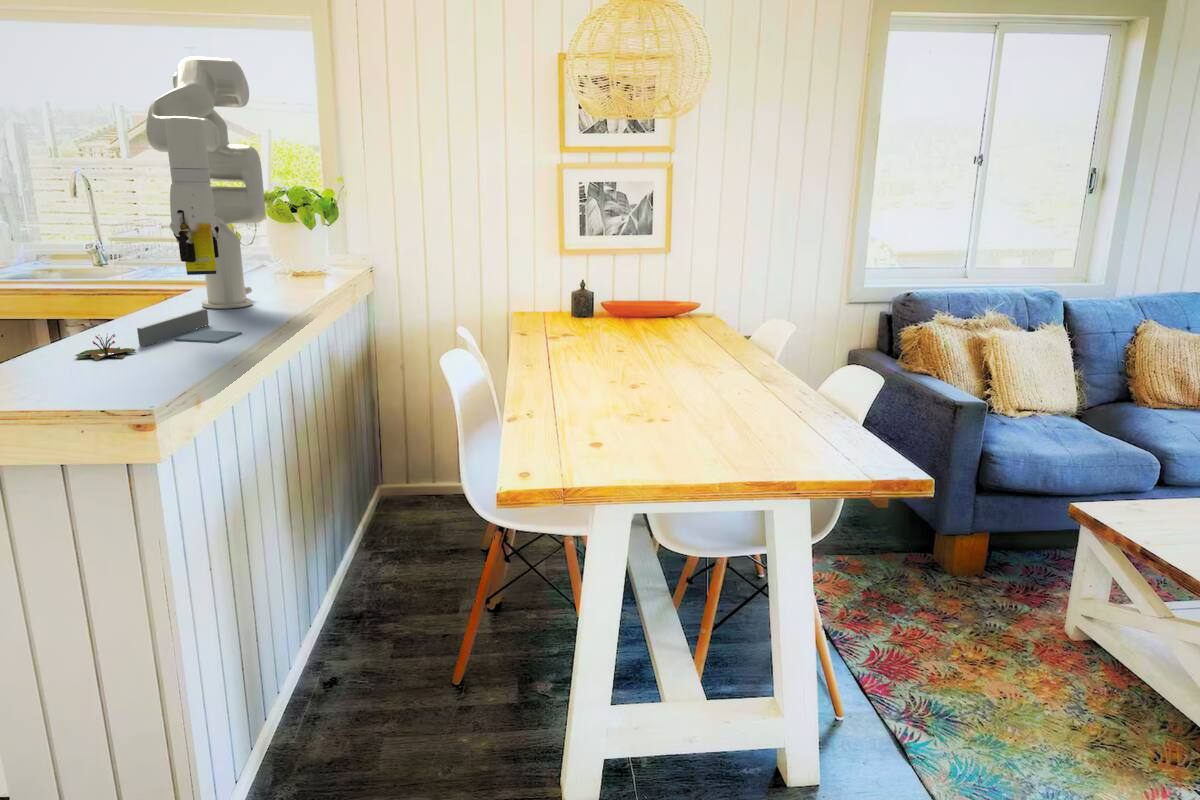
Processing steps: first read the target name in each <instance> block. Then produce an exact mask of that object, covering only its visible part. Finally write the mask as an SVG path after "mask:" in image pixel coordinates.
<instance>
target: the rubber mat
mask: <svg viewBox="0 0 1200 800" xmlns="http://www.w3.org/2000/svg"><path fill="white" fill-rule="evenodd" d="M239 334H240V335H242V334H243V331H229V330H228V331H227V330H210V329H200V330H196V331H194V332H191V333H188V334H185V335H181V336H180V337H176V338H174V341H175V340H180V341H179V342H193V341H200V342H199V343H212V342H216V344H218V343H221V342H223V340H224V341H226V340H229V339H232V338H234V337H237V336H239ZM236 335H237V336H236ZM231 337H232V338H231ZM228 338H229V339H228Z"/></svg>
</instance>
